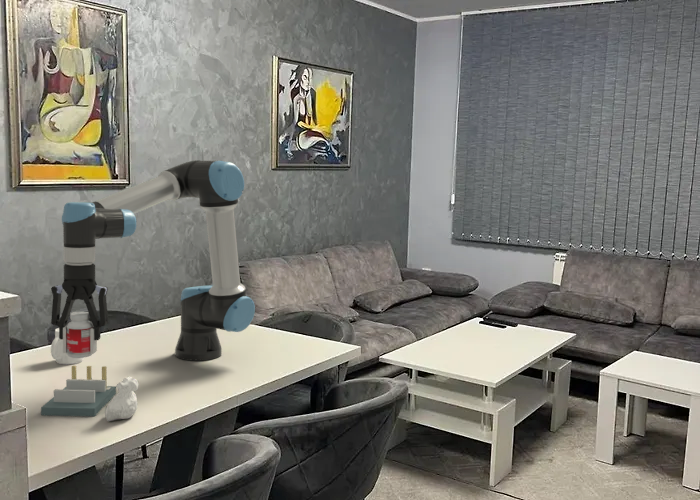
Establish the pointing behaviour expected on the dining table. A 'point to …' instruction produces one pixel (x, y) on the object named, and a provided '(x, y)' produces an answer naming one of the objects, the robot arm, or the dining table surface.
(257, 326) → the dining table surface
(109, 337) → the dining table surface
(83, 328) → the pill bottle
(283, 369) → the dining table surface
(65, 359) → the mug
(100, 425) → the dining table surface
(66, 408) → the board
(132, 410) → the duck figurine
